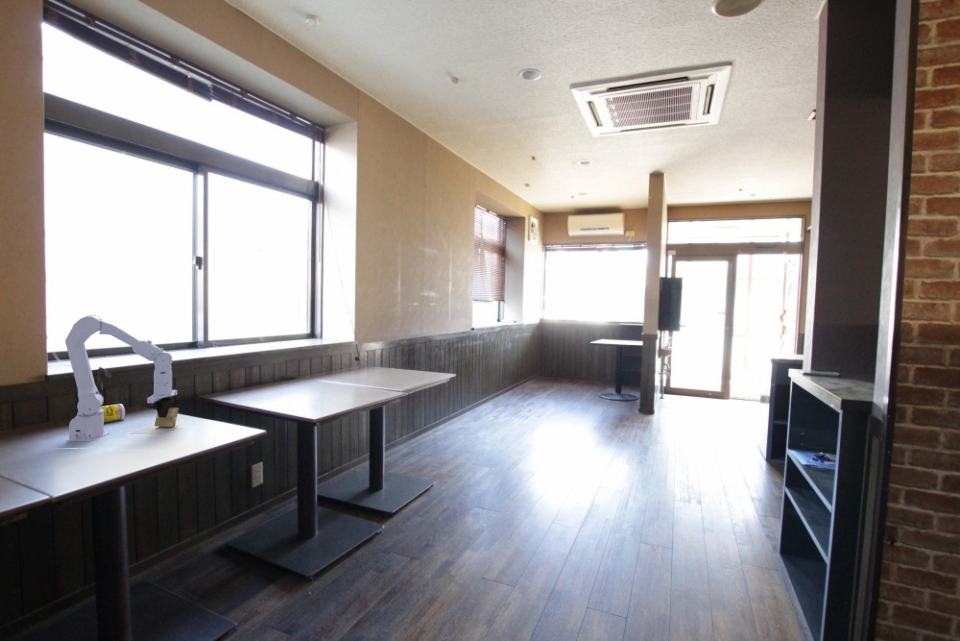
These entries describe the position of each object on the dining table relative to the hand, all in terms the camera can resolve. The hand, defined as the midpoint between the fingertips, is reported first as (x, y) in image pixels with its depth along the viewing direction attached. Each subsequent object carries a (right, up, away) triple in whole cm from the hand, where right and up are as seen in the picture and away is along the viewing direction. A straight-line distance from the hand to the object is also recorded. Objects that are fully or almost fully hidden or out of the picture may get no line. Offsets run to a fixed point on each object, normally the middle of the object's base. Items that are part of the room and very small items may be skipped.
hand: (162, 417), depth 173 cm
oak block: (0, -4, +1) cm, 4 cm away
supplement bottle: (-24, 0, +11) cm, 26 cm away
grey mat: (-2, -5, -1) cm, 5 cm away
